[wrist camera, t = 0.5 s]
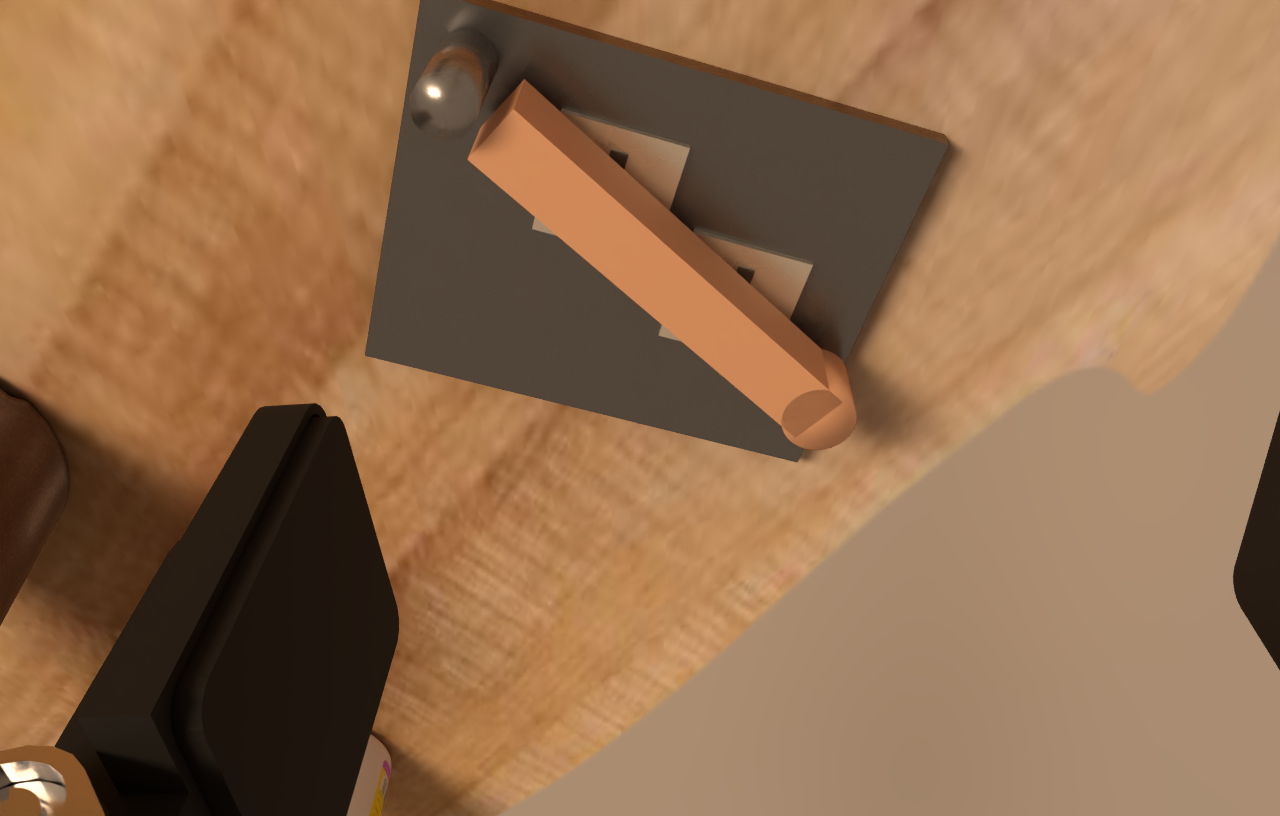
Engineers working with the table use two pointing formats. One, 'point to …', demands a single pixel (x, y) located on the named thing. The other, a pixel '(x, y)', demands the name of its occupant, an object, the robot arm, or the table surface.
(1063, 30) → the table surface
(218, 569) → the robot arm
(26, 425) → the plant pot
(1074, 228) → the table surface
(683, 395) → the panel
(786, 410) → the swing bar
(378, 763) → the supplement bottle
